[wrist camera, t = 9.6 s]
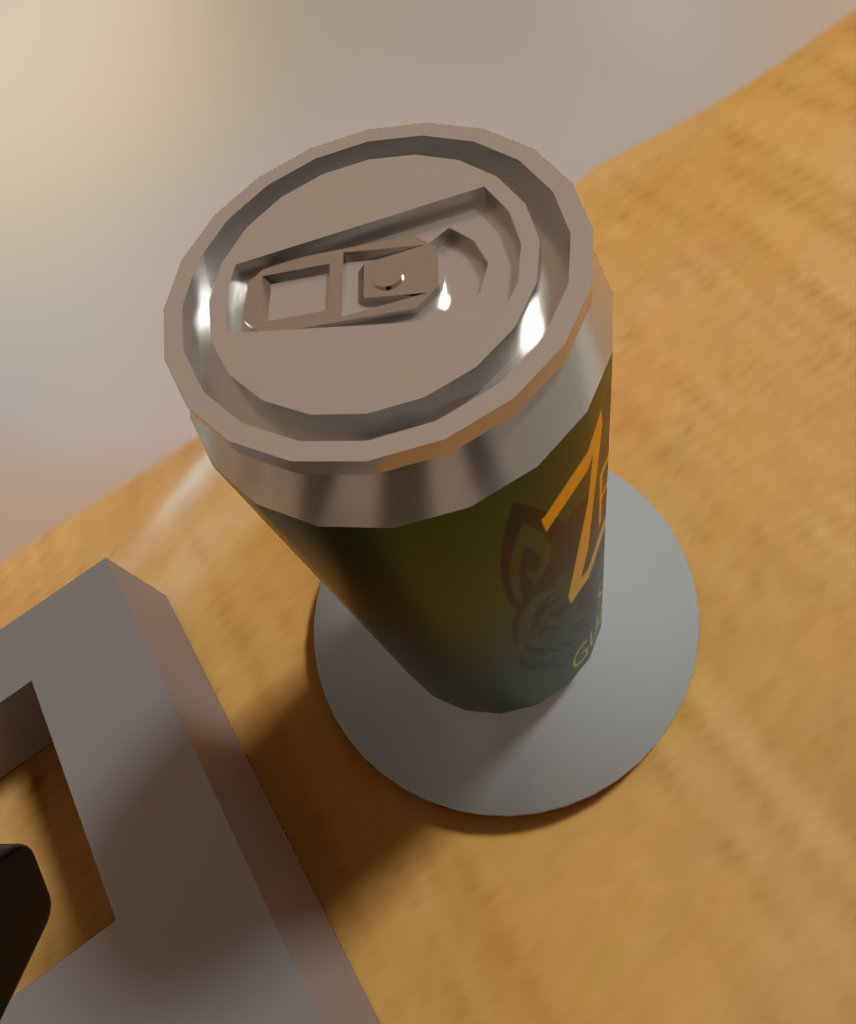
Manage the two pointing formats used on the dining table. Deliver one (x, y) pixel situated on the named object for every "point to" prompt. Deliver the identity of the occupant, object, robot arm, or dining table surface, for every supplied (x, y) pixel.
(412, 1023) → the dining table surface
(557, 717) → the coaster
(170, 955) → the can dock
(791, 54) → the dining table surface
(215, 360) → the beer can
